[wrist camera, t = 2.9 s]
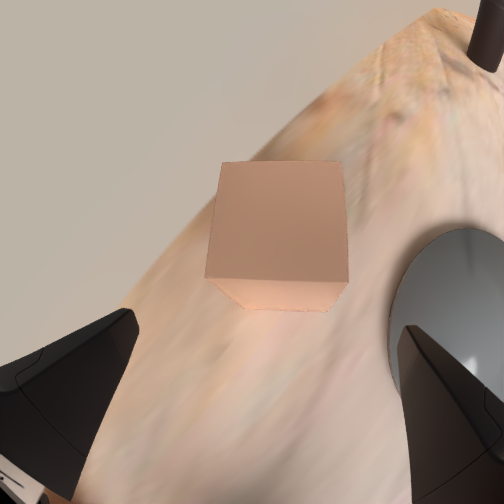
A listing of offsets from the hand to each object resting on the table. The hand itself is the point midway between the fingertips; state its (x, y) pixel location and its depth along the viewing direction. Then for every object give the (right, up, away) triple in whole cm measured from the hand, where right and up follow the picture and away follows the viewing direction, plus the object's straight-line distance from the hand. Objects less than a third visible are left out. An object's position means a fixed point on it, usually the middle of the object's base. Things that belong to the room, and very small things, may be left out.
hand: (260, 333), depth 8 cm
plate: (+18, -4, +8) cm, 20 cm away
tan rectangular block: (+2, +1, +13) cm, 13 cm away
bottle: (+42, +38, +19) cm, 60 cm away
